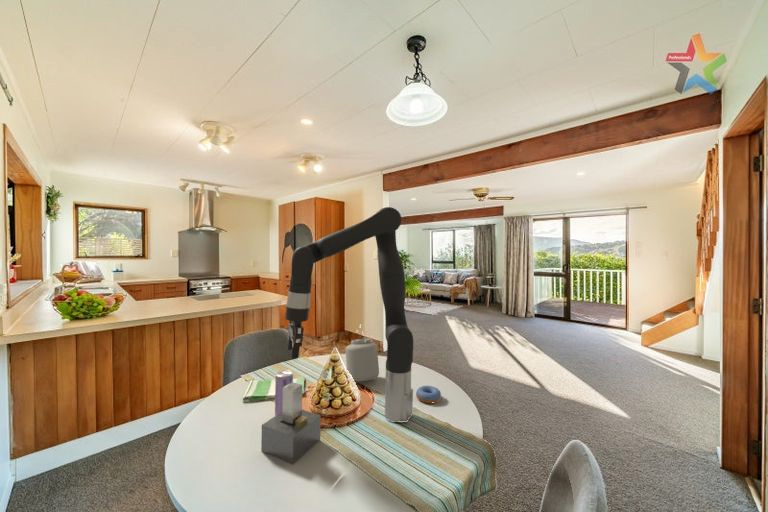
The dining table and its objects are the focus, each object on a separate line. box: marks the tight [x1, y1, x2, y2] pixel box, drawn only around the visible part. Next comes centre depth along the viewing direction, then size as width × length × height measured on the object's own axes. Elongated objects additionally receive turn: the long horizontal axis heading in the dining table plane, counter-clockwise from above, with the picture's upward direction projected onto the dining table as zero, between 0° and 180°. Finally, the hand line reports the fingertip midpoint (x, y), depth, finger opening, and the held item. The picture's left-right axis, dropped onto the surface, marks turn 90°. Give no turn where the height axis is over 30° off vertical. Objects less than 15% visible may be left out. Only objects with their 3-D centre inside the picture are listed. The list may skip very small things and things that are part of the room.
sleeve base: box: [260, 409, 322, 466], centre depth 89 cm, size 12×12×9 cm
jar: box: [345, 324, 380, 383], centre depth 138 cm, size 19×15×25 cm
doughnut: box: [415, 385, 442, 404], centre depth 120 cm, size 10×10×5 cm
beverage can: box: [274, 369, 294, 417], centre depth 106 cm, size 6×6×15 cm
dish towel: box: [242, 376, 306, 403], centre depth 125 cm, size 18×23×3 cm
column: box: [282, 382, 303, 426], centre depth 89 cm, size 4×4×18 cm
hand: (292, 353), depth 99 cm, fingers open, 8 cm apart
